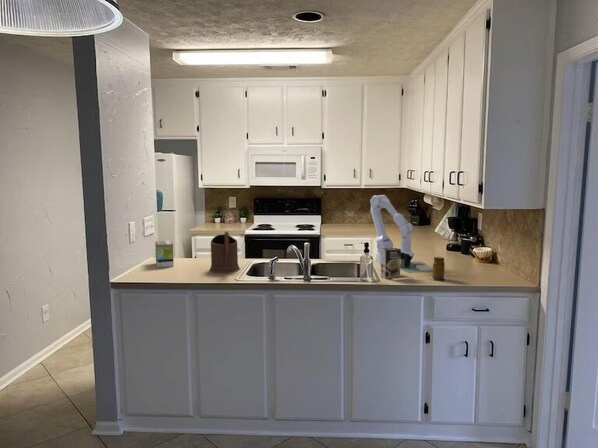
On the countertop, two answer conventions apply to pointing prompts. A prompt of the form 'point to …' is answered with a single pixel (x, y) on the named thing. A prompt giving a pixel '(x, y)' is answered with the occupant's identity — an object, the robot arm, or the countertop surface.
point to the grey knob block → (416, 263)
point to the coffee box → (390, 262)
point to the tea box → (164, 254)
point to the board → (418, 268)
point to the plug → (403, 264)
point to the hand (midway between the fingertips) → (405, 265)
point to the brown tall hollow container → (224, 254)
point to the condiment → (438, 269)
